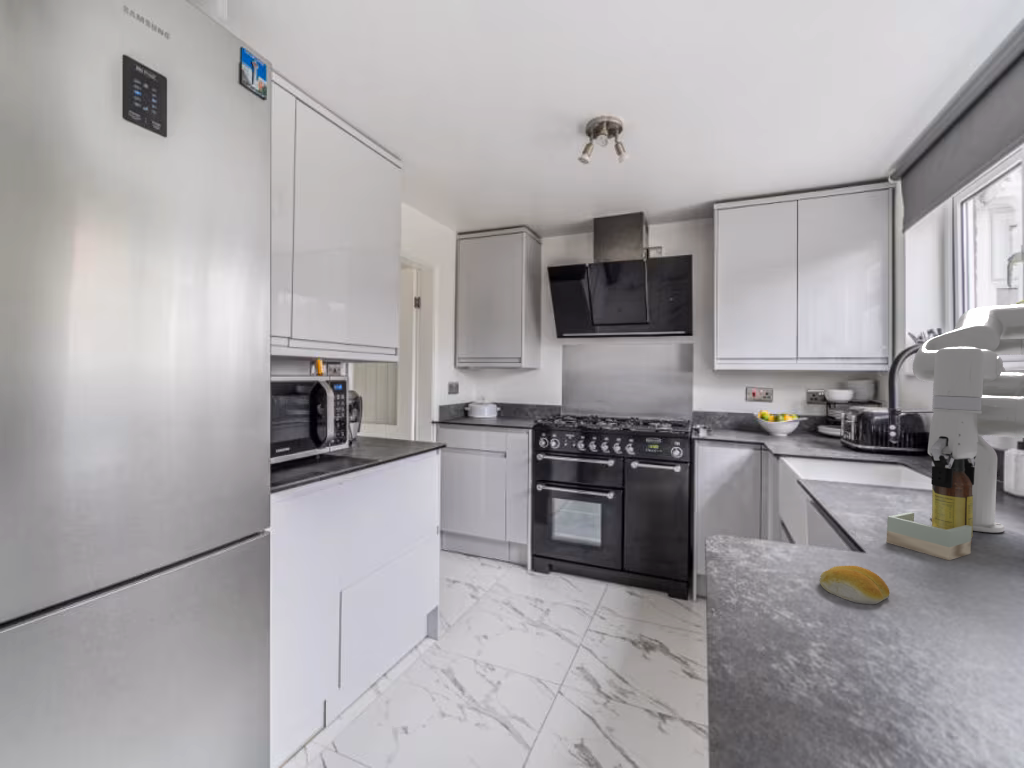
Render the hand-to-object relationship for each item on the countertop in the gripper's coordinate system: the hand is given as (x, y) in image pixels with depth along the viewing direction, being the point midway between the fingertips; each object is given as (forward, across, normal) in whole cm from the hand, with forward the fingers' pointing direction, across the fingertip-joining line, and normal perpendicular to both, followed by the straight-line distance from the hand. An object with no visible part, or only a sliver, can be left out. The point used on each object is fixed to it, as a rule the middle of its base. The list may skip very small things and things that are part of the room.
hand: (952, 485), depth 95 cm
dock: (+12, +9, 0) cm, 15 cm away
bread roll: (+14, +46, +5) cm, 49 cm away
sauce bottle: (+12, -1, 0) cm, 12 cm away
